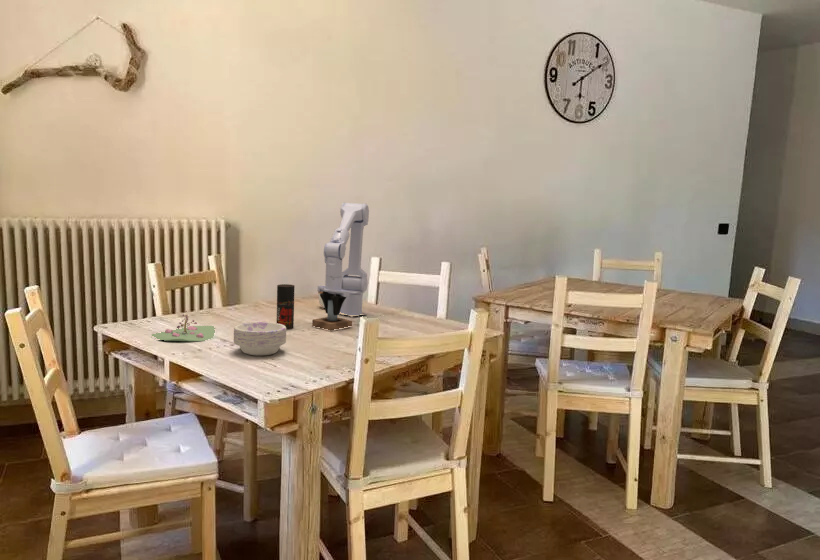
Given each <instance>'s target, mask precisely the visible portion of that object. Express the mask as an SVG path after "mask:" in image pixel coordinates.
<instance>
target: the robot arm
mask: <svg viewBox="0 0 820 560" xmlns="http://www.w3.org/2000/svg"><path fill="white" fill-rule="evenodd" d="M339 209H340V211H339V212H340V217H341V218H340V219H341V221H340V224H339V227H337V228H336V229H334V232H333V233H332V236H331V238H330V239H329V240H330V241H329V242H327V243H324V248H323V256H324V263H325V279H324V280H325V281H324V282H325V283H324V285H318V286H317V292H318V291H319V292H323V294H320V297H321V298H322V301H323V303H324V307H325V309H324V311H325V314H328V300H332V302H333V314H334V315H338V316H339V315H340V314H339V313H340V312H341V313H344V314H347V315H360V314H362V313H363V294H364V293H365V292H366V291H367V290H368V283H369V282H368V274H367V273H366V271H365V270H363V268H361V267H362V266H361V265H362V255H363V254H362V253H363V238H364V237H363V236H364V228H365V226H368V223H369V219H370V218H369V214H370V209H369V205H368V204H367V203H356V202H347V201H346V202H342V203H341V205H340V208H339ZM349 231H350V232H349ZM348 240H349V253H348V254H349V255H348V267H347V268H346V269H344V270H343V259H344V258H345V255H346V250H347V246H346V245H347V243H348Z"/></svg>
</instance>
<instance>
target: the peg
mask: <svg viewBox="0 0 820 560" xmlns="http://www.w3.org/2000/svg"><path fill="white" fill-rule="evenodd" d="M326 317H327V320H328V321H337V319H338V318H339V315H334V314H333V302H332V300H328V313H327V316H326Z"/></svg>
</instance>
